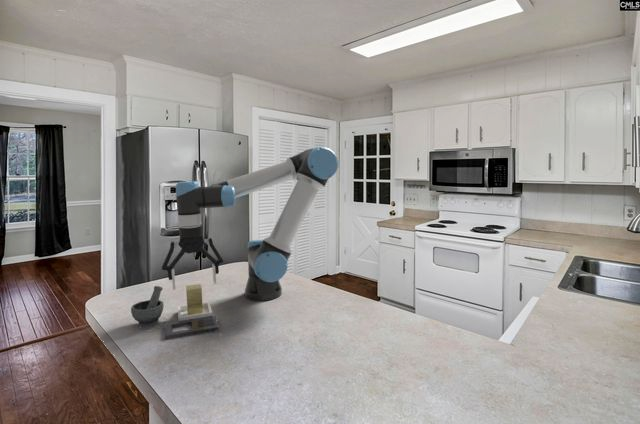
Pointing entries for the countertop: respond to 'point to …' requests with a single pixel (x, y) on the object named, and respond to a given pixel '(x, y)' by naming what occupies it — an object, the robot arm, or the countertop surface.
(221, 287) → the countertop surface
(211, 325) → the dark grey flat slab
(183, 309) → the white tray
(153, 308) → the mortar and pestle
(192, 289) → the brass block
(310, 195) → the robot arm
